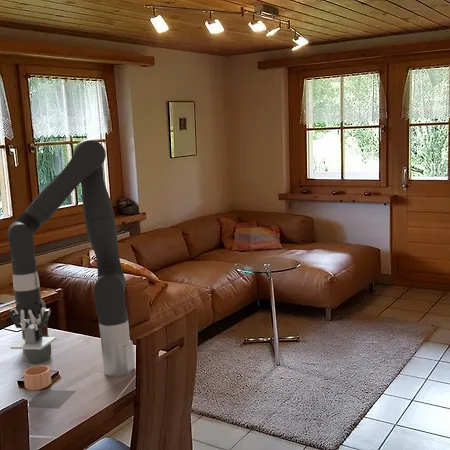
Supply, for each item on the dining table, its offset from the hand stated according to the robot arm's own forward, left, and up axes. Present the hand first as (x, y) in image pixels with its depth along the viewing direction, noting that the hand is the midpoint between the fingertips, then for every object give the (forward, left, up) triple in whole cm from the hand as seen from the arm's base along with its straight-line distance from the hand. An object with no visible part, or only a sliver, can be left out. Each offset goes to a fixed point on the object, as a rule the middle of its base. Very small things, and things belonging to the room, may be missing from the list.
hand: (33, 340), depth 182 cm
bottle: (+11, -21, -15) cm, 28 cm away
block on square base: (0, 0, -1) cm, 1 cm away
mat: (-9, +8, -15) cm, 19 cm away
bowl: (0, -1, -15) cm, 15 cm away
